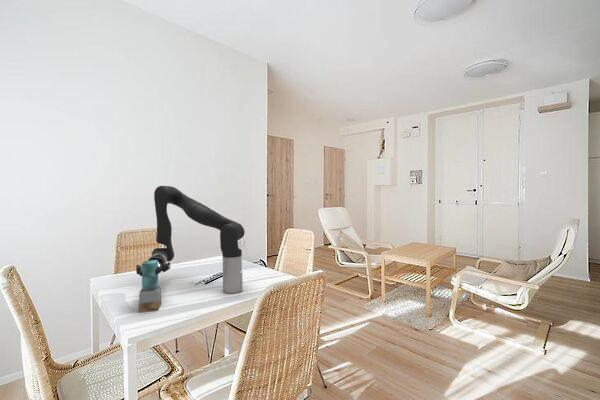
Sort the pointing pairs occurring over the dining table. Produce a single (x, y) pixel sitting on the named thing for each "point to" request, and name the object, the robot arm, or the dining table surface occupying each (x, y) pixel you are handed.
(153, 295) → the grey slab
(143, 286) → the teal pillar
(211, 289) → the dining table surface
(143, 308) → the walnut slab
